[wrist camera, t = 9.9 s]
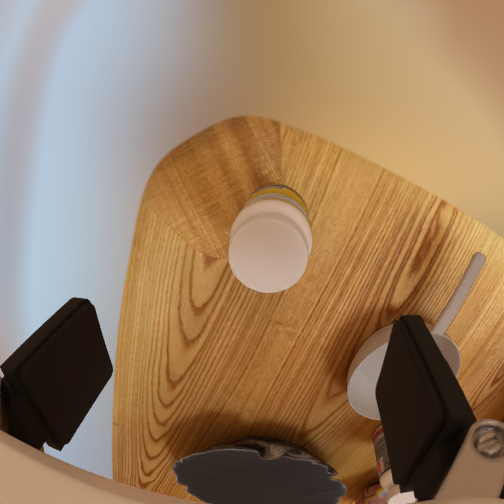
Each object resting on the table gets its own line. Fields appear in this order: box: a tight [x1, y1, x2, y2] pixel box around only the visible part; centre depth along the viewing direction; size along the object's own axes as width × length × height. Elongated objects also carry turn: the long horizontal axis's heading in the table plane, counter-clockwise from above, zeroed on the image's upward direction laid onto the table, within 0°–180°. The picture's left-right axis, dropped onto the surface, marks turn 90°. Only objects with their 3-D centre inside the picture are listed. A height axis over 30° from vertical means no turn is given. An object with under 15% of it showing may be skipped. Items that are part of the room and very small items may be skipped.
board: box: [172, 436, 347, 504], centre depth 33 cm, size 22×22×5 cm
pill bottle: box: [373, 425, 416, 504], centre depth 26 cm, size 6×6×10 cm
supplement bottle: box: [228, 184, 313, 293], centre depth 20 cm, size 5×5×8 cm
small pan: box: [347, 252, 486, 420], centre depth 24 cm, size 11×18×4 cm, turn 165°
